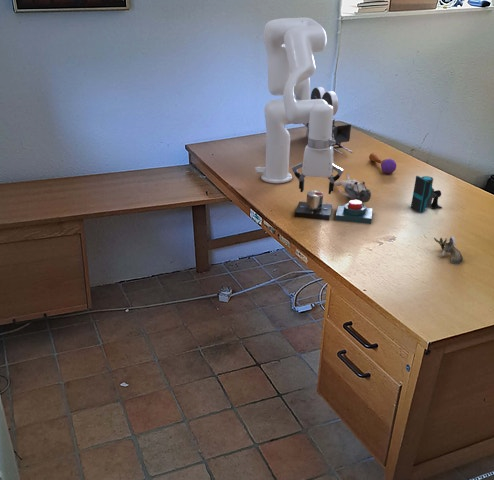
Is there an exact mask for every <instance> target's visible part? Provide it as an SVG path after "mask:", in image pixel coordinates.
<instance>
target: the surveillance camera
mask: <svg viewBox="0 0 494 480" xmlns="http://www.w3.org/2000/svg"><path fill="white" fill-rule="evenodd" d="M414 181H415V182H414V187H413V194H412V198H411V204H410V208H411V209H412V210H413V211H415V212H417V213H418V214H421V213H423V212H425V211H426V209H429V208H430V209H432V210H436V209H442V207H443V206H440V205H439V204H438V202H439V198H440V197H441V196H442V190H440V189H436V190H435V188H434V187H433V183H434V178H433V177H431V176H428V175H426V176H420V175H416V176H415V180H414Z"/></svg>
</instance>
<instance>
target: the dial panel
mask: <svg viewBox="0 0 494 480" xmlns="http://www.w3.org/2000/svg"><path fill="white" fill-rule="evenodd" d="M333 205H334V204H332V203H322V209H321V210H319V211H310V210H308V209H306V201H298V203H297V206H296V209H295V211H294V218H297V219H298V218H300V219H309V220H320V221H330V220H331V219H330V218H331V215H332V211H333Z"/></svg>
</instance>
